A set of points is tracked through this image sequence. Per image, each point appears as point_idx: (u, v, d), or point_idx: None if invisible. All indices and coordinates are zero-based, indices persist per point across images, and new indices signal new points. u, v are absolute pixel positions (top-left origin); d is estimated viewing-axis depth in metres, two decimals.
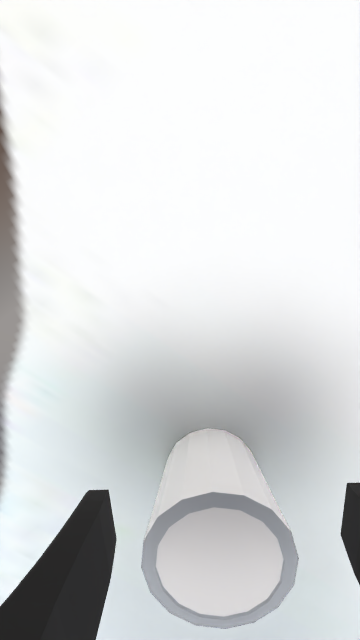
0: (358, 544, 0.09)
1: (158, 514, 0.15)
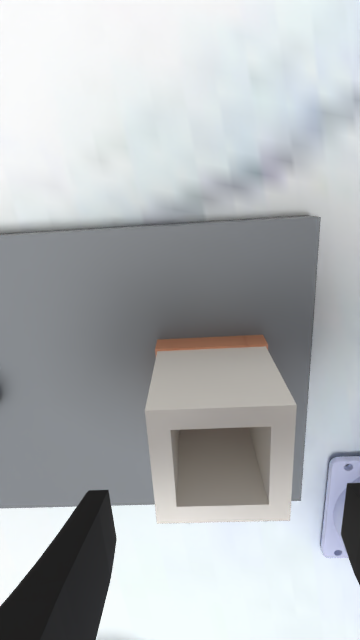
0: (358, 544, 0.09)
1: None
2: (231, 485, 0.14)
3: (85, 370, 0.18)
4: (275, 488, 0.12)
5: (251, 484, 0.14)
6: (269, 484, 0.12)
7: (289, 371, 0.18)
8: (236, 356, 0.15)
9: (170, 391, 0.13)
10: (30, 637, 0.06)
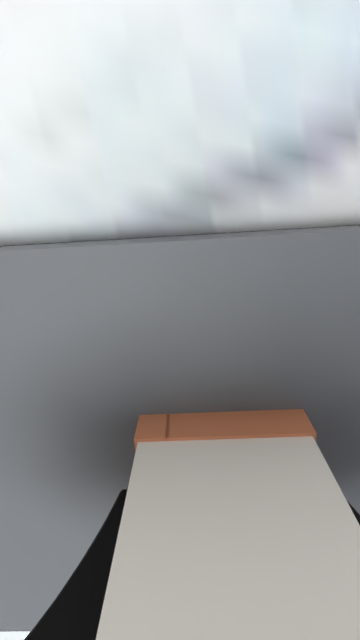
0: None
1: None
2: None
3: (31, 457, 0.12)
4: None
5: None
6: None
7: (341, 460, 0.11)
8: (267, 461, 0.09)
9: (152, 566, 0.07)
10: (86, 636, 0.06)
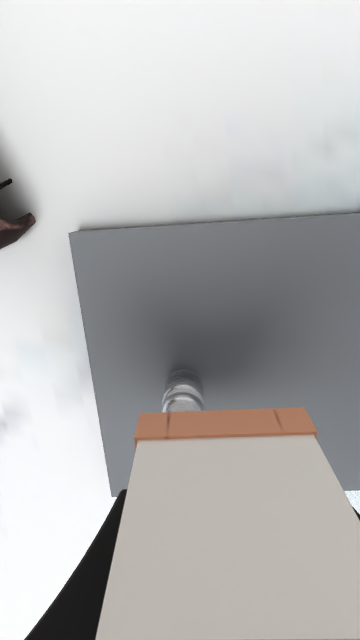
0: None
1: None
2: None
3: (288, 356, 0.18)
4: None
5: None
6: None
7: None
8: (268, 459, 0.09)
9: (153, 564, 0.07)
10: (86, 636, 0.06)
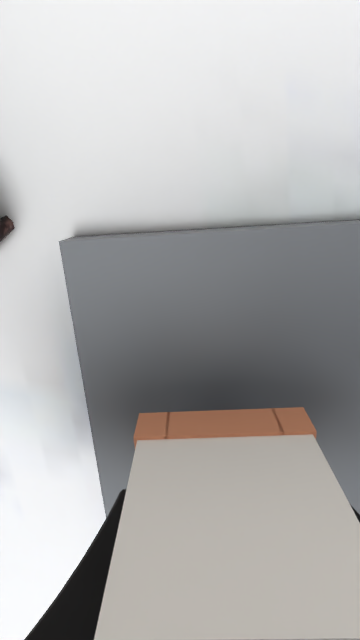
0: None
1: None
2: None
3: None
4: None
5: None
6: None
7: None
8: (267, 459, 0.09)
9: (152, 563, 0.07)
10: (86, 636, 0.06)
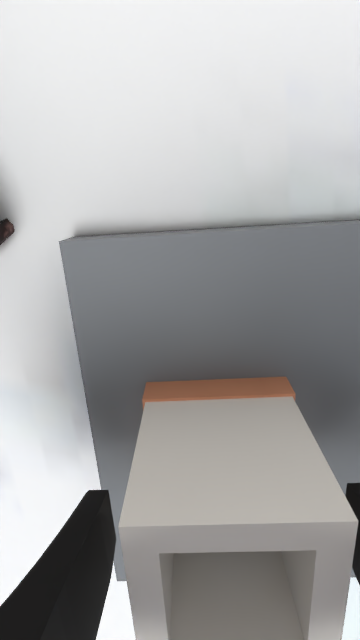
0: (358, 544, 0.09)
1: None
2: (249, 608, 0.09)
3: None
4: (318, 630, 0.08)
5: (278, 607, 0.09)
6: (309, 625, 0.08)
7: None
8: (253, 414, 0.11)
9: (160, 482, 0.08)
10: (30, 637, 0.06)
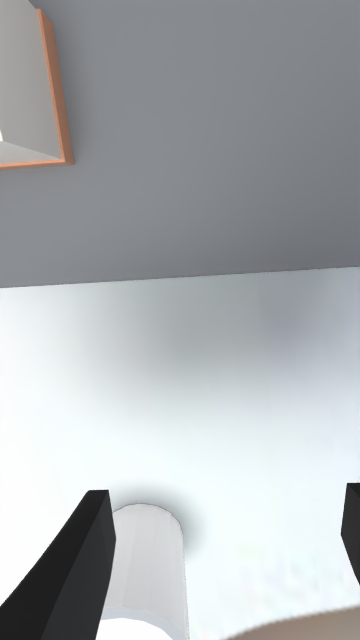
0: (358, 544, 0.09)
1: None
2: None
3: (129, 63, 0.14)
4: None
5: None
6: None
7: None
8: None
9: None
10: (30, 637, 0.06)
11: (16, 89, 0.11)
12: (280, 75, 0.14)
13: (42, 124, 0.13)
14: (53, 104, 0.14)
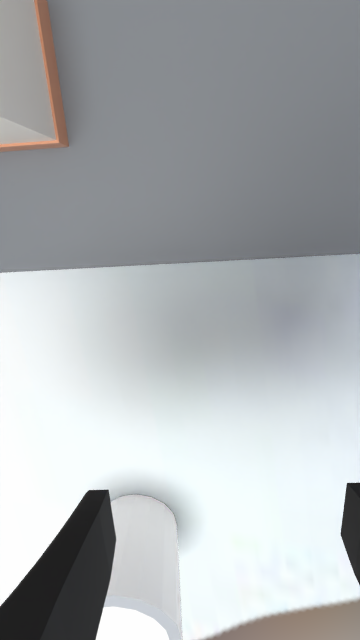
0: (358, 544, 0.09)
1: None
2: None
3: (125, 43, 0.14)
4: None
5: None
6: None
7: None
8: None
9: None
10: (30, 637, 0.06)
11: (7, 62, 0.11)
12: (277, 57, 0.14)
13: (35, 102, 0.12)
14: (47, 83, 0.14)
